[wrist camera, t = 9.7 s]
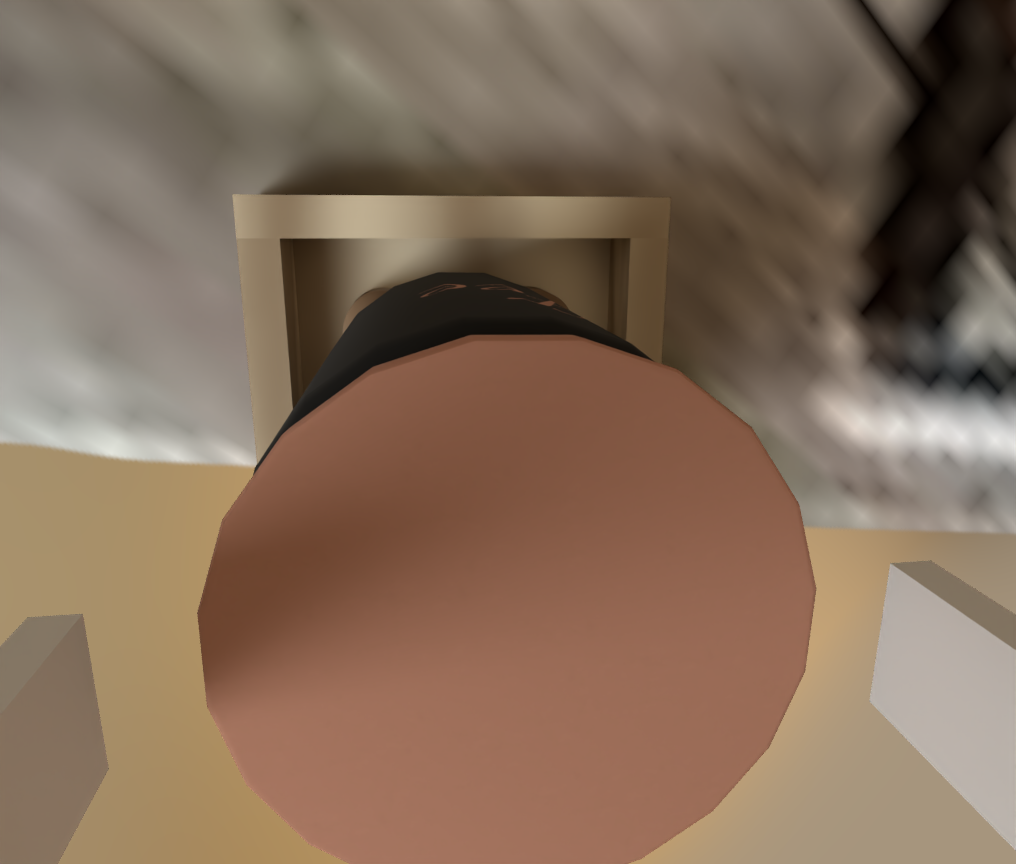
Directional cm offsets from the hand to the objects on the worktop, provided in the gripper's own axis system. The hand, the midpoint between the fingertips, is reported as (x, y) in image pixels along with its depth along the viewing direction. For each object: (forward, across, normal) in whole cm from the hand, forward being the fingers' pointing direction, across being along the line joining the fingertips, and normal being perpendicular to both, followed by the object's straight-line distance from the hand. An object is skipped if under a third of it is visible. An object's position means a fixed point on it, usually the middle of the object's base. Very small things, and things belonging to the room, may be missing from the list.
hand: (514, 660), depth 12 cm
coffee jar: (+19, 0, 0) cm, 19 cm away
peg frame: (+22, +1, 0) cm, 22 cm away
